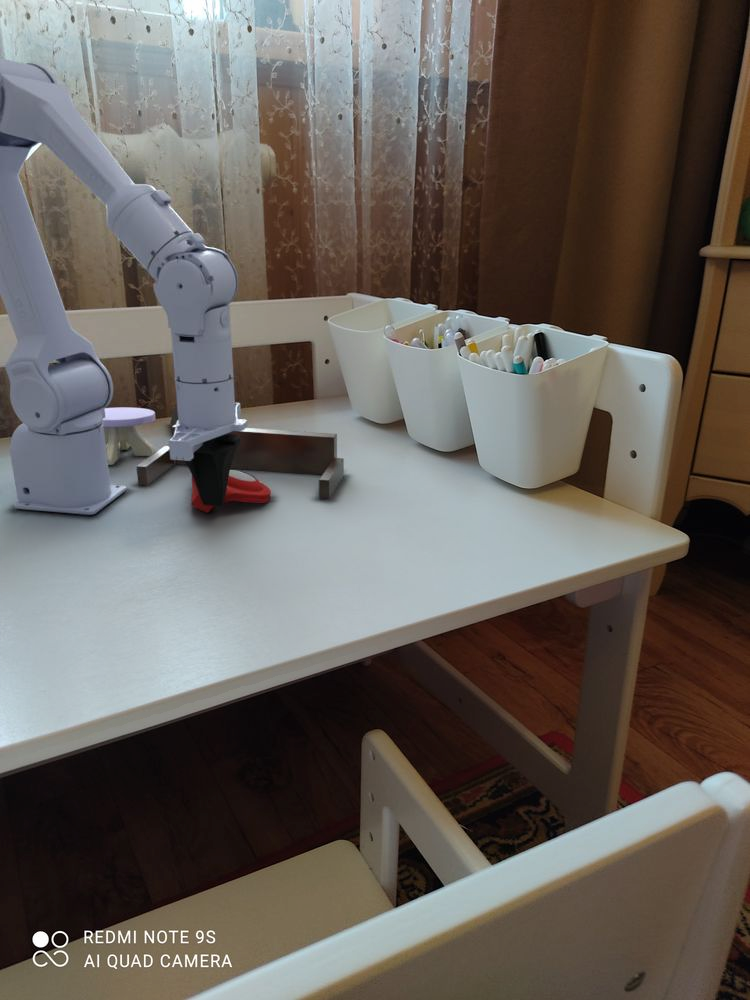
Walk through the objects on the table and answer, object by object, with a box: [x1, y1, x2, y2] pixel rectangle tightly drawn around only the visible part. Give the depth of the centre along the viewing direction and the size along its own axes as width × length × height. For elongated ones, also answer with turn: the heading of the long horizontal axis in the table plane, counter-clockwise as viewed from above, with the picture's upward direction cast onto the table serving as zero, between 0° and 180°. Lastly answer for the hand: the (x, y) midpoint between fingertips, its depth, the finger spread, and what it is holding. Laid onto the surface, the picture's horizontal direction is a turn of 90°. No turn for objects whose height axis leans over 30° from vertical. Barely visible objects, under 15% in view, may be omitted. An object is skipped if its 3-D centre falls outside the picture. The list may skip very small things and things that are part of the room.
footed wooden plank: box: [136, 425, 345, 501], centre depth 94 cm, size 23×10×5 cm, turn 80°
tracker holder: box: [190, 468, 272, 513], centre depth 88 cm, size 12×4×10 cm
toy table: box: [103, 406, 156, 466], centre depth 101 cm, size 10×9×6 cm
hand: (213, 504), depth 82 cm, fingers closed
